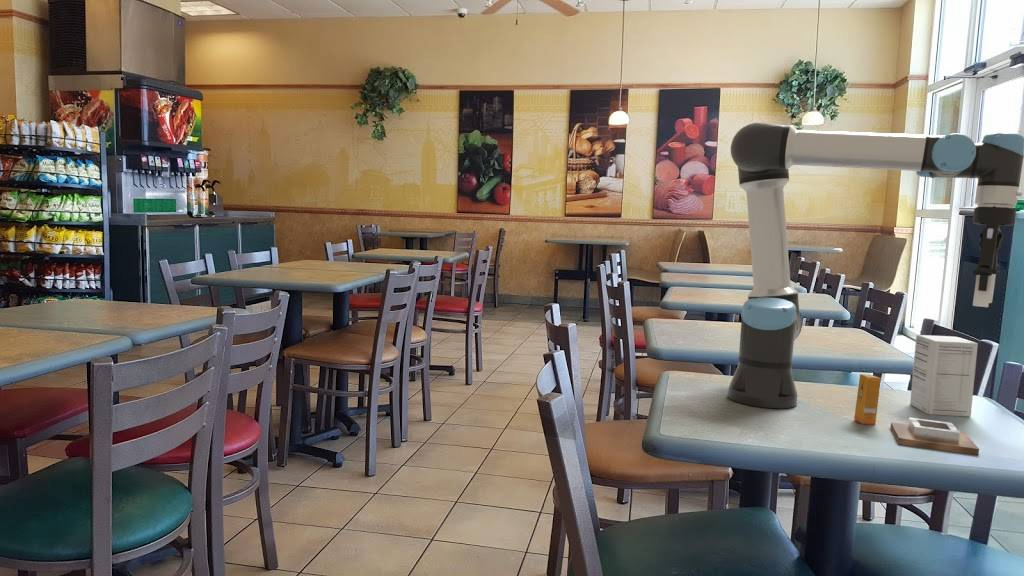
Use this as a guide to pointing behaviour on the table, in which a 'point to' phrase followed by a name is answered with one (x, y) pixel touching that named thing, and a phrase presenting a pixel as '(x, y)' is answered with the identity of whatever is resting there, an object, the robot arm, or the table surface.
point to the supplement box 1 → (867, 399)
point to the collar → (933, 430)
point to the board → (933, 441)
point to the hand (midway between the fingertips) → (982, 304)
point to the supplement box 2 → (943, 375)
